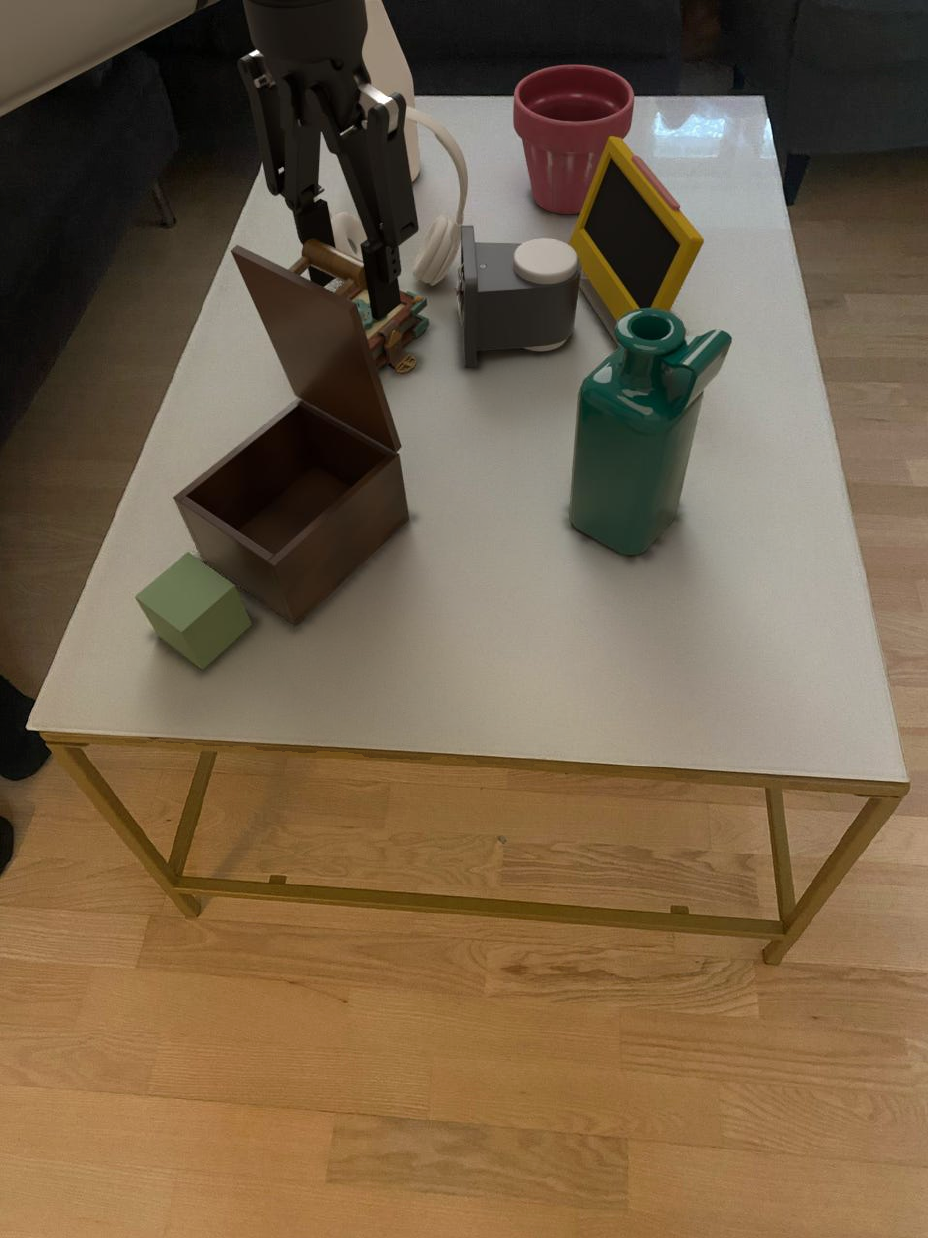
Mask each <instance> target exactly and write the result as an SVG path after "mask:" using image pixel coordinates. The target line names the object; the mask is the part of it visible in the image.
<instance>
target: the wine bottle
mask: <svg viewBox="0 0 928 1238" xmlns="http://www.w3.org/2000/svg"><path fill="white" fill-rule="evenodd" d="M383 3H384V2H383V1H382V0H365V5H366V13H367V21H368V30H367V34H366V37H365V40H364V44H363V49H362V56H363V60H364V63H365V66H366V68H367V70H368V72H369V75H370V78H371V85H372V86H373V87H375V88H376V89H378V90H379V91H380V92H382V93H383V94H384V95H386V96H387V97H389V96H390V95H392V94H393V93H395V92H399V93H401V94H402V95H403V97H404V98H405V101H406V106H408V107H411V108H414V109H416V101H415V89H414V79H413V76H412V73H411V70H410V67H409V64H408V62H407V59H406V57H405V54H404V52H403V49H402V47H401V45H400V42H399V40H398V37H397V35H396V32H395V31H394V28H393V26H392V23H391V21H390V18H389V16H388V13H387V11H386V8H385V6H384V4H383ZM353 126H354V125H353ZM353 126H352V127H350V128H349V129H347V130H346V131H344V132H342V134H344V133H345V132H347V131H349V130H350V129H352V128H353ZM404 135H405V141H406V148H407V154H408V161H409V167H410V174H411V180H412V183H413V182H414V181H415V180H416V179H417V177H418V176H419V173H420V171H421V156H420V146H419V145H420V144H419V134H418V122H415V121H413V120H411V119H408V118H405V124H404Z"/></svg>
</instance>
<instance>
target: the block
mask: <svg viewBox="0 0 928 1238" xmlns="http://www.w3.org/2000/svg"><path fill="white" fill-rule="evenodd" d="M134 598H135V600H136V602H137V603H138V605H139V607H140V608H141V611H142V612H143V613H144V615H145V616H146V618H147V620H148V622H149V623H150V626H151V627H152V628H153V630H154V631H155V633H156V635H157V637H159V638H160V639H161V640H163V641H164V642H165V643H167V644H168V645H169V646H171V647H172V648H173V649H174V650H176V651H177V652H178V653H179V654H181V655H182V656H183V657H185V658H186V659H187V660H189V661H190V662H191V663H193V664H194V665H195V666H196V667H198V668H199V669H200V670H202V671H203V670H204V669H206V668H207V667H208V666H209V665H210V664H211V663H212V662H213V661H214V660H216V658H217V657H218V656H220V655H221V654H222V653H223V652H224V651H225V650H227V648H228V647H230V646H231V645H232V644H233V643H234V642H235V641H236V640H237V639H238V638H239V637H240V636H242V634H244V633H245V632H246V631H247V630H248V629H249V628H250V627H251V626H253V623H252V621H251V619H250V616H249V613H248V612H247V610H246V608H245V607H246V606H245V605H244V602H243V600H242V598H241V595H240V592H239V591H238V589H237V586H236V584H234V582H232V581H231V580H230V579H228V578H227V577H224V575H223V574H221V573H220V572H218V571H217V570H215V569H214V568H213V567H212V568H211V566H210V565H208V564H207V563H206V562H204V561H203V560H200V559H199V558H197V556H195V555H194V554H192V553H190V552H189V551H187V552H186V553H184V555H182V556H181V557H180V558H178V560H177V561H176V562H174V563H173V564H172V565H170V566H169V567H168V568H167V569H166V570H164V571H163V572H162V573H161V574H160V575H159V576H157V577H156V578H155V579H154V580H152V581H151V582H150V583H149V584H148V585H147V586H145V587H144V588H143V589H142V590H141V591H139V592H138V593H137V594H135V595H134Z"/></svg>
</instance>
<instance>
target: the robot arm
mask: <svg viewBox="0 0 928 1238" xmlns="http://www.w3.org/2000/svg"><path fill="white" fill-rule="evenodd" d="M220 1H221V0H0V118H1V117H2V116H4V115H7V114H9V113H10V112H12V111H14V110H16V109H18V108H19V107H21V106H23V105H25V104H27V103H29V102H31V101H32V100H35V99H37V98H38V97H40V96H42V95H44V94H45V93H47V92H50V91H51V90H53V89H55V88H57V87H58V86H61V85H62V84H65V83H66V82H68V81H70V80H71V79H73V78H75V77H77V76H79V75H81V74H83V73H85V72H86V71H87V72H88V71H89V70H91V69H92V68H94V67H96V66H98V65H99V64H102V63H103V62H105V61H107V60H109V59H110V58H113V57H115V56H117V55H119V54H120V53H122V52H124V51H126V50H128V49H129V48H131V47H133V46H135V45H137V44H139V43H141V42H143V41H145V40H146V39H148V38H150V37H152V36H154V35H156V34H157V33H159V32H162V31H163V30H164V29H168V28H169V27H171V26H172V25H175V24H176V23H178V22H180V21H181V20H183V19H186V18H187V17H189V16H191V15H193V14H194V13H197V12H198V11H200V10H203V9H205V8H207V7H209V6H211V5H214V4H216V3H218V2H220ZM242 3H243V8H244V13H245V17H246V21H247V26H248V30H249V35H250V39H251V43H252V45H253V46H254V48H255V50H253V51H251V52H249V53H248V54H246V55H244V56H243V57H241V58H239V59H237V62H236V63H237V64H236V65H237V69H238V71H239V74H240V77H241V79H242V81H243V84H244V86H245V89H246V92H247V93H248V97H249V103H250V108H251V113H252V118H253V123H254V128H255V133H256V139H257V143H258V148H259V153H260V158H261V163H262V168H263V173H264V178H265V184H266V187H267V190H268V192H269V193H270V195H272V196H273V197H277V196H279V195H280V196H281V197H282V198H284V202H285V205H286V206H287V208H288V209H289V210H290V211H292V216H293V220H294V225H295V229H296V233H297V238H298V240H299V242H300V244H301V245H302V247H303V246H304V244H305V242H306V241H307V240H309V239H311V238H314V239H317V240H319V241H321V242H323V243H325V244H327V245H330V246H332V247H334V248H336V246H335V241H334V235H333V230H332V225H331V219H330V214H329V211H330V209H329V203H328V201H327V200H325V199H322V198H319V200H317V201H316V202H315V201H314V198H315V197H316V196H318V197H319V195H321V194H323V192H325V188H324V187H322V185H320V184H319V180H320V162H321V160H320V159H321V143H322V141H321V140H322V139H321V138H322V137H323V139H324V142H325V145H326V149H327V150H328V151H329V153H331V155H332V154H333V155H335V156H336V158H337V160H338V164H339V166H340V169H341V171H342V174H343V176H344V179H345V182H346V185H347V188H348V190H349V193H350V196H351V198H352V201H353V204H354V206H355V209H356V213H357V215H358V217H359V221H360V222H361V223H362V226H363V228H364V231H365V234H366V236H367V240H365V241H364V242H363V243H361V244H360V246H361V252H362V258H363V264H364V270H365V277H366V283H367V289H368V295H369V301H370V307H371V314H372V318H374V319H376V320H378V321H380V320H381V319H382V318H384V317H385V316H386V315H387V314H389V313H390V312H391V311H392V310H394V309H395V308H396V307H397V306H399V305H400V304H401V298H400V291H399V290H400V285H399V283H400V282H399V277H400V276H401V274H402V264H401V263H402V262H401V255H400V254H401V253H400V247H399V246H401V245H402V244H403V243H405V242H406V241H407V240H409V239H410V238H412V237H413V236H415V234H417V233H418V232H419V230H420V229H419V227H420V226H419V219H418V214H417V208H416V201H415V195H414V187H413V182H412V180H411V174H410V167H409V161H408V154H407V148H406V141H405V135H404V124H405V115H406V101H405V98H404V97H403V95H402V94H401V93H399V92H395V93H393V94H392V95H390V96H389V97H387V96H386V95H384V94H383V93H382V92H380V91H379V90H378V89H376V88H375V87H373V86H372V85H371V78H370V75H369V72H368V70H367V68H366V66H365V63H364V60H363V56H362V49H363V44H364V40H365V37H366V34H367V30H368V21H367V13H366V5H365V0H242ZM353 125H354V126H353ZM352 126H353V128H352V129H350V130H349V131H347V132H345V133H343V132H344V131H346V130H347V129H349V128H350V127H352ZM282 168H283V170H281V169H282ZM280 170H281V172H280ZM307 272H308V275H309V280H310V281H312V282H314V283H316V284H318V285H320V286H322V287H324V288H326V286H327V285H329V284H330V283H332V282H333V281H334V280H337V278H335V277H333V276H331V275H329V274H327V273H325V272H323V271H321V270H319V269H316V268H314V267H312V266H310V267H309V268H308V269H307Z"/></svg>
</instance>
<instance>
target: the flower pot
mask: <svg viewBox="0 0 928 1238" xmlns="http://www.w3.org/2000/svg"><path fill="white" fill-rule="evenodd" d="M634 107H635V92H634V89H633V87H632V86H631V84H630V83H629V82H628V81H627V80H626V79H625V78H623V76H621V75H619V74H617V73H616V72H613V71H611V70H608V69H606V68H603V67H599V66H594V65H588V64H587V65H586V64H562V65H555V66H549V67H545V68H541V69H539V70H536V71H534V72H531V73H530V74H529V75H527V76H525V77H524V78H522V79H521V80H520V81H519V82H518V83H517V85H516V87H515V89H514V91H513V106H512V108H513V109H512V115H513V116H512V119H513V120H512V122H513V123H512V124H513V129H514V131H515V133H516V134H517V136H518V137H519V138H520V139H521V143H522V147H523V152H524V157H525V162H526V167H527V172H528V173H527V174H528V178H529V182H530V188H531V193H532V198H533V200H534V202H535V204H536V205H538V207H540V208H541V209H543V210H545V211H548V212H549V213H554V214H560V215H577V214H580V212H581V209H582V207H583V204H584V201H585V199H586V196H587V193H588V191H589V188H590V186H591V183H592V180H593V178H594V175H595V172H596V170H597V167H598V164H599V162H600V159H601V156H602V154H603V151H604V149H605V146H606V143H607V141H608V138H609V137H610V136H614V137H619V138H621V139H622V140H623V141H624V139H625V138H626V137H627V136H628V134H629V132H630V130H631V127H632V123H633V114H634Z"/></svg>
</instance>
